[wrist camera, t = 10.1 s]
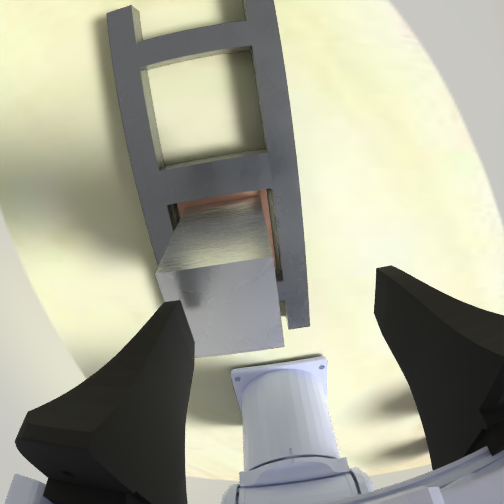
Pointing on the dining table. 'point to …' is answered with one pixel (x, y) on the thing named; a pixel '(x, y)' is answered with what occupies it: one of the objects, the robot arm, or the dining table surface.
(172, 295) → the steel peg
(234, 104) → the dining table surface
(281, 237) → the rail
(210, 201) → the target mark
